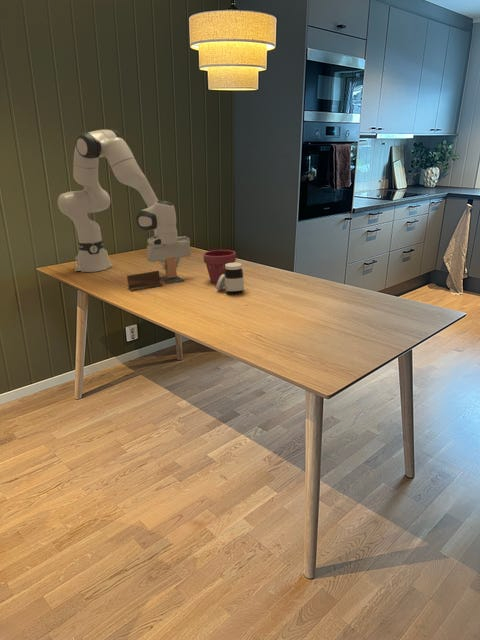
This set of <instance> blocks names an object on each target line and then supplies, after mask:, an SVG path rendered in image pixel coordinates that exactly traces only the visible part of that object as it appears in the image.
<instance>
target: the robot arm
mask: <svg viewBox="0 0 480 640" xmlns="http://www.w3.org/2000/svg"><path fill="white" fill-rule="evenodd" d="M74 147H75V148H74V154H73V164H72V165H73V167H72V169H73V175H72V177H73V179H74V181H75V182H76V183H77V184H79V185H80V186H83V189H82V190H74V191H73V190H71V191H67V192H64V193H61V194H59V196H58V197H57V207H58V209H59V211H60V212H61V213H62V214H63V215H65V216H67V218H69V219H70V220H71V221H72V223H73V225H74V226H75V229H76V233H77V238H78V243H77V244H78V245H77V246H78V254H77V255H76V256H75V257H74V258H75V261H76V264H75V268H74V269H75V272H76V271H81V272H82V273H83V272H84V273H94V272H100V271H104V270H108V269H109V268H111V267H114V264H113V263H111V262H110V259H109V255H108V251H107V250H106V249H105V247H104V241H103V239H102V233H101V227H100V224H98V222H96V221H94V220H92V219H90V218H89V216H88V214H92V213H99V212H102V211H105V210H107V209H109V207H110V205H111V198H110V194H109V193H108V192H107V191H106V190H105V189H103V188H102V187H101V184H100V180H99V162H100V161H99V159H100V158H106V160H107V162H108V163H109V166H110V168H111V170H112V172H113V173H112V174H113V175H114V176H115V178H116V180H118V182H119V183H121V184H123V185H125V186H129V187H131V188H133V189H135V190H136V191H137V192H138V193H139V194H140V196H141V198H142V199H143V202H145V204H146V206H147V208H144V209H142V210H141V209H140V210H139V211H138V212H137V213H136V217H135V221H136V225H137V227H138V228H139V229H140V230H141V231H144V232H150V231H154V230H157V235H153V236H152V237H149V238H147V246H146V260H147V261H148V262H150V263H153V262H159V263H160V264H161V267H162V270H163V271H165V270H166V269H167V266H166V265H165V263H164V260H167V258H172V257H175V259H176V269H178V268H179V263H180V261H181V258H188V257H191V255H192V250H191V245H190V244H191V238H189V237H188V236H187V235H185V236H178V229H177V213H176V209H175V206H174V204H173V203H172V202H171V201H168V200H160V199H159V196H158V195H157V193H156V191H155V190H154V187H153V186H152V184H151V182H150V181H149V179H148V177H147V176H146V175H145V174H144V172H143V171H142V169H141V168H140V166H139V164H138V162H137V160H136V158H135V156H134V153H133V152H132V150H131V148H130V146H129V145H128V144H127V142H126V141H125V140H124V139H123V136H122V134H121V133H120V132H119V131H118V130H116V129H112V128H111V129H110V128H108V129H97V130H93V131H89V132H82V133H81V134H79V135H78V136H77V137H76V139H75V146H74Z"/></svg>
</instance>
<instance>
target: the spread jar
mask: <svg viewBox="0 0 480 640" xmlns="http://www.w3.org/2000/svg"><path fill="white" fill-rule="evenodd" d="M215 287H216V290H218V291H221V290H223V288H224V291H225V293H226V294H228V295H239V294H243V293H244V290H245V287H244V271H243V264H242V262H234V263H227V264H225V275H224V274H222V275H221V276H220V278H219V279H218V282H217V283H216V286H215Z"/></svg>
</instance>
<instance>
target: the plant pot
mask: <svg viewBox="0 0 480 640" xmlns="http://www.w3.org/2000/svg"><path fill="white" fill-rule="evenodd" d="M236 254H237V253H236V251H234V250H229V249H214V250H209V251H205V252H204V253H203V263H205V265H206V269H207V272H208V276H209V280H210V282H211V283H212V284H213V283H214V284H217V282H218V279H219V278H220V276H221V275H222V274H224V275H225V264H227V263H236V261H237V255H236Z"/></svg>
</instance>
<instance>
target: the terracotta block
mask: <svg viewBox="0 0 480 640" xmlns="http://www.w3.org/2000/svg"><path fill="white" fill-rule="evenodd" d="M163 264H164V265H166V266H167V269H166V270H164V272H165V276H166V277H168V278H171V277H177V276H178V274H177V273H178V272H177V268H176V259H175V257H172V258H167V260H164V263H163Z"/></svg>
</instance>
